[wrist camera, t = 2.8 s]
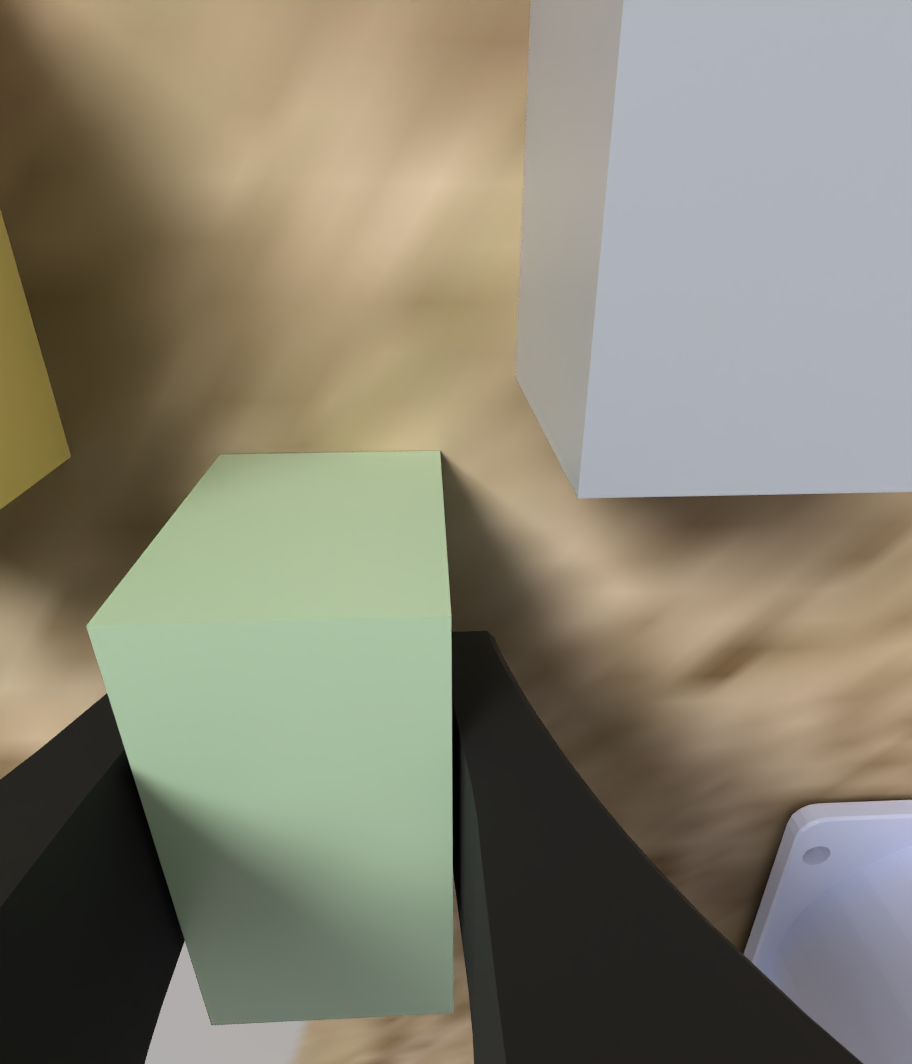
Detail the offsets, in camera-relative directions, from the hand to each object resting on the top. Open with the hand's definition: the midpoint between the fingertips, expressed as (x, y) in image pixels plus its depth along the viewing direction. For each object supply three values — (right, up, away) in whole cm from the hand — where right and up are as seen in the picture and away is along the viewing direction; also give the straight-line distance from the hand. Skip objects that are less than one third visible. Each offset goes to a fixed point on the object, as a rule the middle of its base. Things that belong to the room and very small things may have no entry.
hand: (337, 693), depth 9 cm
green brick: (0, +1, +1) cm, 1 cm away
